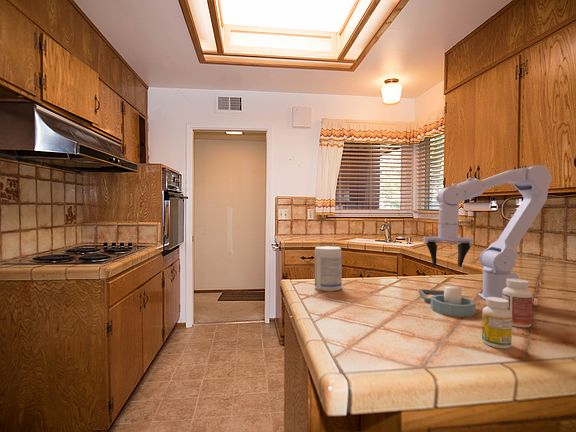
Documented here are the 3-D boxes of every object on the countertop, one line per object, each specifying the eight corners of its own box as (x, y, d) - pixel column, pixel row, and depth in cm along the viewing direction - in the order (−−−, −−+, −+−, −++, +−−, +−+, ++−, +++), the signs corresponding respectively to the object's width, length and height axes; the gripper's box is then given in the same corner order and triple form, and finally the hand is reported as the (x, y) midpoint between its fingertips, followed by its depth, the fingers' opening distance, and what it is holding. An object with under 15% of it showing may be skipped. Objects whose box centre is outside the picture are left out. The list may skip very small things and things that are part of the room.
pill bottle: (536, 325, 80) (537, 281, 80) (525, 330, 77) (526, 284, 77) (508, 318, 85) (509, 276, 85) (497, 322, 82) (498, 279, 82)
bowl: (467, 306, 96) (467, 296, 95) (480, 318, 85) (480, 307, 85) (427, 303, 98) (427, 293, 98) (435, 314, 87) (436, 303, 87)
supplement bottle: (509, 351, 65) (511, 304, 65) (479, 344, 68) (480, 299, 68) (512, 343, 69) (514, 299, 69) (483, 336, 73) (485, 294, 72)
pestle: (458, 306, 93) (459, 286, 93) (463, 311, 89) (463, 289, 89) (442, 305, 94) (442, 285, 94) (445, 309, 90) (446, 288, 90)
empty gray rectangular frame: (456, 294, 108) (456, 291, 108) (468, 305, 96) (468, 301, 96) (418, 292, 111) (418, 288, 111) (425, 302, 99) (425, 298, 99)
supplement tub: (346, 288, 115) (347, 247, 114) (330, 293, 108) (330, 250, 108) (325, 284, 122) (326, 245, 121) (308, 288, 115) (309, 247, 115)
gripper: (426, 223, 102) (425, 266, 103) (477, 225, 99) (475, 269, 99) (422, 223, 109) (421, 262, 109) (469, 224, 106) (468, 265, 106)
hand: (446, 265), depth 105 cm, fingers open, 7 cm apart
